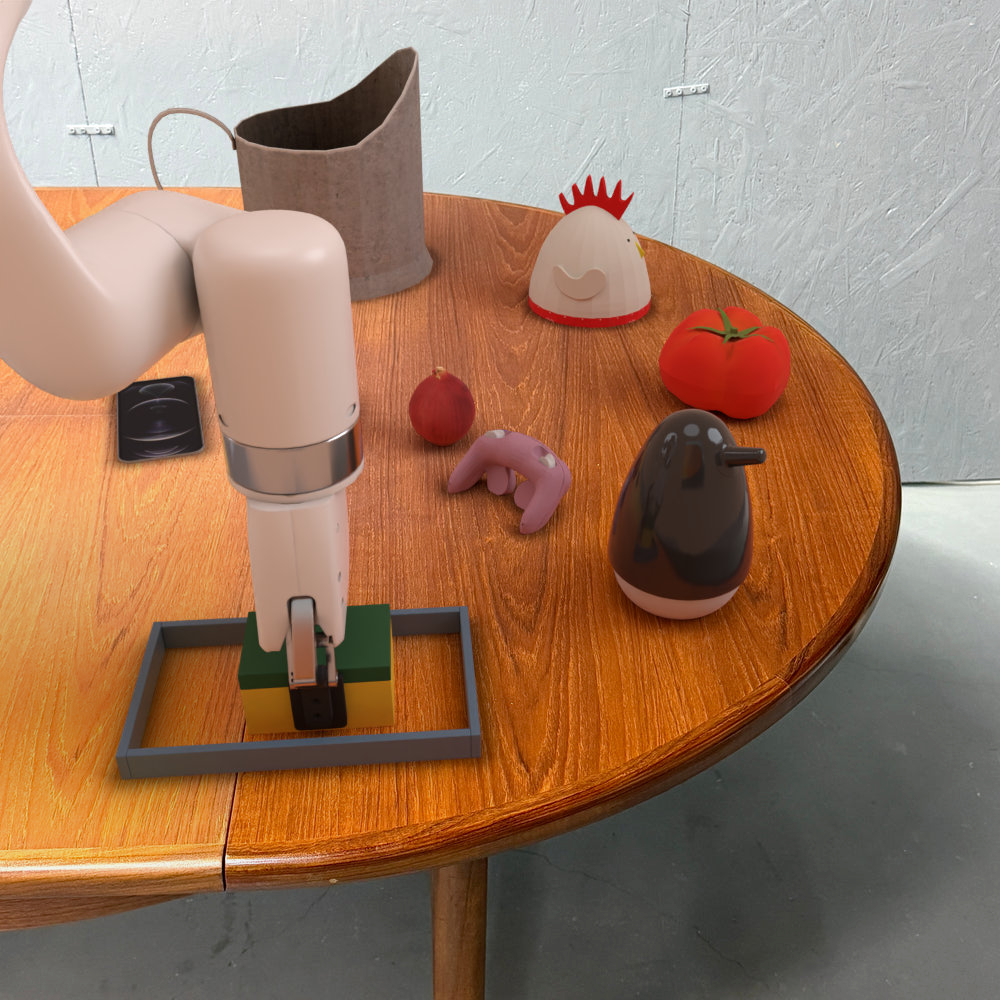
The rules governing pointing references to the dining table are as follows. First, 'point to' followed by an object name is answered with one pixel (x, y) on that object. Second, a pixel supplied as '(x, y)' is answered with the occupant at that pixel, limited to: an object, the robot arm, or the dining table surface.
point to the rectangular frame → (291, 751)
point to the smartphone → (158, 420)
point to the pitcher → (345, 171)
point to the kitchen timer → (591, 264)
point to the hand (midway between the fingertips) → (323, 686)
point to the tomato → (726, 362)
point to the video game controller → (500, 460)
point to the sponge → (357, 656)
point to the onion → (442, 408)
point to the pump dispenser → (685, 518)
